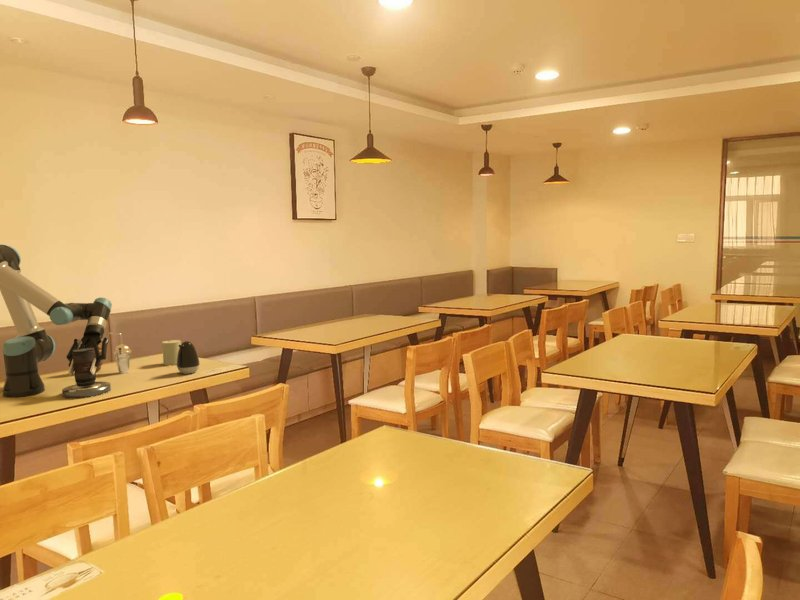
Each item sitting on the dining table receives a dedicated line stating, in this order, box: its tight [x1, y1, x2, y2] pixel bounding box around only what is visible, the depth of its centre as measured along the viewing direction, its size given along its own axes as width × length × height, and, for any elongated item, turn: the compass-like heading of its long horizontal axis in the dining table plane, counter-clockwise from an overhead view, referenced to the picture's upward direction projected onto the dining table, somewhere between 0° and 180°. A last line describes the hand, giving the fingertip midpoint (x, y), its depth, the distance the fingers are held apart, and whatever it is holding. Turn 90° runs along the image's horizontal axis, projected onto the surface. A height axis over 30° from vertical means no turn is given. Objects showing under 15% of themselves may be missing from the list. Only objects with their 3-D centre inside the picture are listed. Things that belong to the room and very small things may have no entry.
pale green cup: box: [161, 339, 182, 366], centre depth 303 cm, size 9×9×12 cm
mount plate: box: [61, 381, 112, 399], centre depth 249 cm, size 18×18×3 cm
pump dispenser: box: [176, 340, 200, 375], centre depth 280 cm, size 10×10×15 cm
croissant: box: [92, 342, 104, 373], centre depth 289 cm, size 9×8×18 cm
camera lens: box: [72, 348, 97, 387], centre depth 248 cm, size 8×8×15 cm
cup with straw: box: [109, 331, 133, 374], centre depth 285 cm, size 8×9×20 cm
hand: (81, 373), depth 245 cm, fingers closed on camera lens, 8 cm apart
